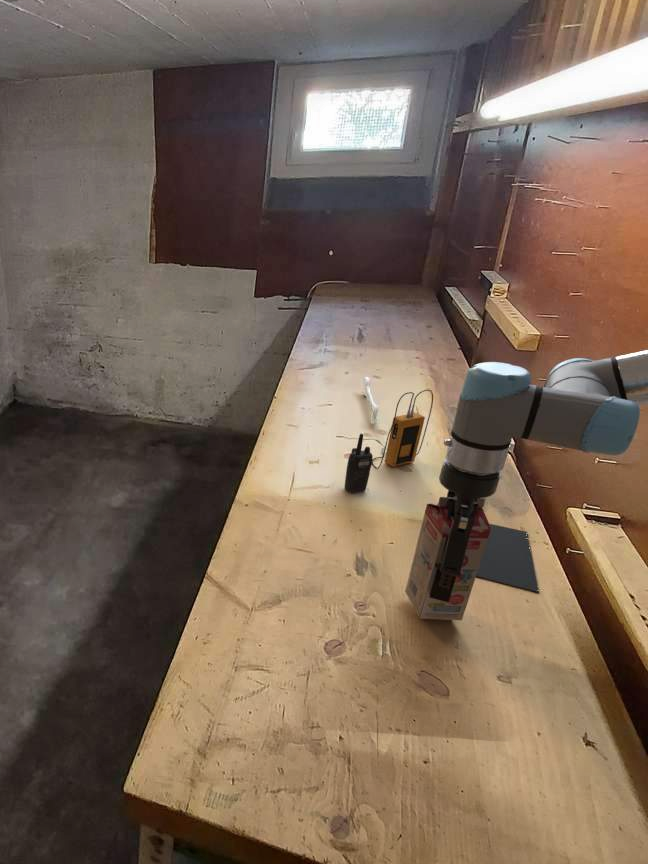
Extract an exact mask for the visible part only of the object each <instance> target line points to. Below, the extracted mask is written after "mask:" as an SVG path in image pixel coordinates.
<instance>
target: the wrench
mask: <svg viewBox="0 0 648 864" xmlns="http://www.w3.org/2000/svg"><path fill="white" fill-rule="evenodd" d="M370 387H371V379H370V377H364V379H363V388H362V395H363V396H365V397H366V400H367V402H368V404H369V405H368V406H369V407H370V411H371V419H370V423H371V424H373V425H375V424H376V422H377V418H378V411H379V404H376V403H375V401H374V397H373V395H372V392H371V389H370Z"/></svg>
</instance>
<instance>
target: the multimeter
mask: <svg viewBox="0 0 648 864" xmlns="http://www.w3.org/2000/svg"><path fill="white" fill-rule="evenodd" d="M426 391H428V392H430V394H431V403H430V409H429V413H428V417H427V421H426V425H425V428H423V427H424V423H425V419H426V416H424V415H422V414H420V413H417V412H415V404H416V399H417V397H419V395H420V394H422V393H424V392H426ZM408 394H409V395H410V394H412V396H411V399H410V403H409V407H408V410H407V413H406V414H403V415H402V414H401V415H397V411H398V407H399V404H400V402H401V400H402V398H403V397H404V396H406V395H408ZM414 396H415V393H414V392H411V391H410V392H409V391H408V392H405V393H404V394H402V395H401V396H400V398H399V399H398V402H397V404H396V407H395V413H394V417H393V418H392V423H391V426H390V429H389V430H388V434H387V437H386V441H385V445H384V446H385V447H384V446H382V448H381V450H382V451H381V452H382V456H377V457H374V458H372V464H371V466H372V467H374V468H375V469H377V470H378V469H380V467H381V466H382V463H383V460H384V463H386V464H387V465H389V466H390V467H392V468H396V467H398V466H402V465H407V464H412V463H414V462H415V461H416V456H418V455H419V454H420V451H421V448H422V445H423V444H424V443H423V442H424V439H425V436H426V432H427V429H428V425H429V421H430V417H431V413H432V410H433V404H434V394H433V391H432V390H431V389H424V390H421V391H420V392H418V393H417V394H416V396H415V397H414ZM413 399H414V400H413ZM412 402H413V404H412ZM423 429H424V432H423V434H422V431H423ZM421 435H423V436H422V438H421ZM420 440H421V443H420ZM419 444H420V445H419ZM376 459H381V460H380V464H379V466H378V467H377V466H375V465H374V463H373V462H374V460H376Z"/></svg>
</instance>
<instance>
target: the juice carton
mask: <svg viewBox="0 0 648 864" xmlns="http://www.w3.org/2000/svg"><path fill="white" fill-rule="evenodd" d="M448 498H453V499H454V498H455V497H447V496H440V497H439V499H438V502H437V503H427V504H426V507H425V510H424V515H423V519H422V521H421V527H420V531H419V534H418V538H417V542H416V545H415V546H416V547H415V552H414V554H413V558H412V562H411V566H410V570H409V574H408V578H407V582H406V585H405V589H404V592H405V594H406V596H407V598H408V599H409V602H410V603H411V605H412V607H413V608H414V611H415V612H416V614H417V616H418V618H419V619H420V620H442V621H443V620H444V621H463V617H464V615H465V612H466V608H467V605H468V603H469V599H470V596H471V593H472V590H473V587H474V583H475V581H476V578H477V577H476V574H477V571H478V568H479V565H480V562H481V559H482V555H483V552H484V549H485V546H486V543H487V540H488V537H489V533H490V530H491V527H490V525H489V524H490V522H489V519H488V518H487V515H486V513H485V511H484V509H483V508H484V507H485V503H486V498H487V497H486V498H478V499H477V502H475V500H474V503H478V509H477V513H476V514H475V515H474V519H475V520H474V521H475V523H474V524H473V527H472V530H471V533H470V536H469V540H468V544H467V548H466V552H465V556H464V560H463V564H462V568H461V574H460V576H459V577H458V576H456V580H455V583H454V586H453V590H452V593H451V596H450V600H449V603H448V602H444V601H441V600H437V599H433V598H430V592H431V588H432V584H433V581H434V577H435V574H436V570H437V568H436V567H434V564H435V563H440V562H441V557H442V553H443V549H444V545H445V542H446V538H447V536H449V533H450V529H451V525H452V522H453V517H452V514H451V519H450V520H448V519H447V512H448V508H447V502H448Z"/></svg>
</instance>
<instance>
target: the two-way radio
mask: <svg viewBox="0 0 648 864" xmlns="http://www.w3.org/2000/svg"><path fill="white" fill-rule="evenodd" d="M363 440H364V433H359V436H358V441H357V445H356V447H353V448H351V453H350V454H349V456H348V460H347V465H346V471H345V480H344V489H345V490H346V492H349V493H359V492H365V491H366V490H367V486H368V484H369V483H368V482H369V479H370V473H371V468H372V463H373V461H372V460H373V459H374V458H373V457H374V456H373V454H372V452H371V447H370V446H365V447H364V450H362V447H363Z"/></svg>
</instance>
